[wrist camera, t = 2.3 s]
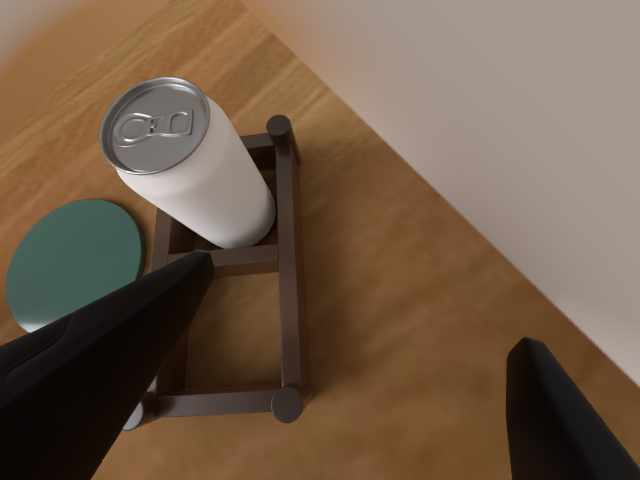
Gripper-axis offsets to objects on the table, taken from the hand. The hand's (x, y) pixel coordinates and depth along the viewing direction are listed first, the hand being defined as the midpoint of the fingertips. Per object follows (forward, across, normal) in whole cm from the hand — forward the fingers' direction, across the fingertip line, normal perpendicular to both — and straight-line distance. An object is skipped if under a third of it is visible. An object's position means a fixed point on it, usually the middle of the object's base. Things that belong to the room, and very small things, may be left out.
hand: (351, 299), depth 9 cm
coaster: (+6, +24, +13) cm, 28 cm away
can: (+13, +11, +9) cm, 20 cm away
